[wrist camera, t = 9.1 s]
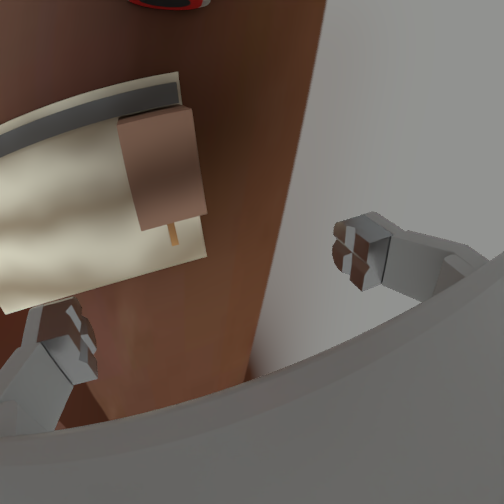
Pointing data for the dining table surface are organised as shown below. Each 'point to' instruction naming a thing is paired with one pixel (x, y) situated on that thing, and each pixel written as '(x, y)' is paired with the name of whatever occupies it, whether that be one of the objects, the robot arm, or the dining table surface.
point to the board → (80, 199)
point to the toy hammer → (172, 4)
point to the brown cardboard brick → (162, 165)
